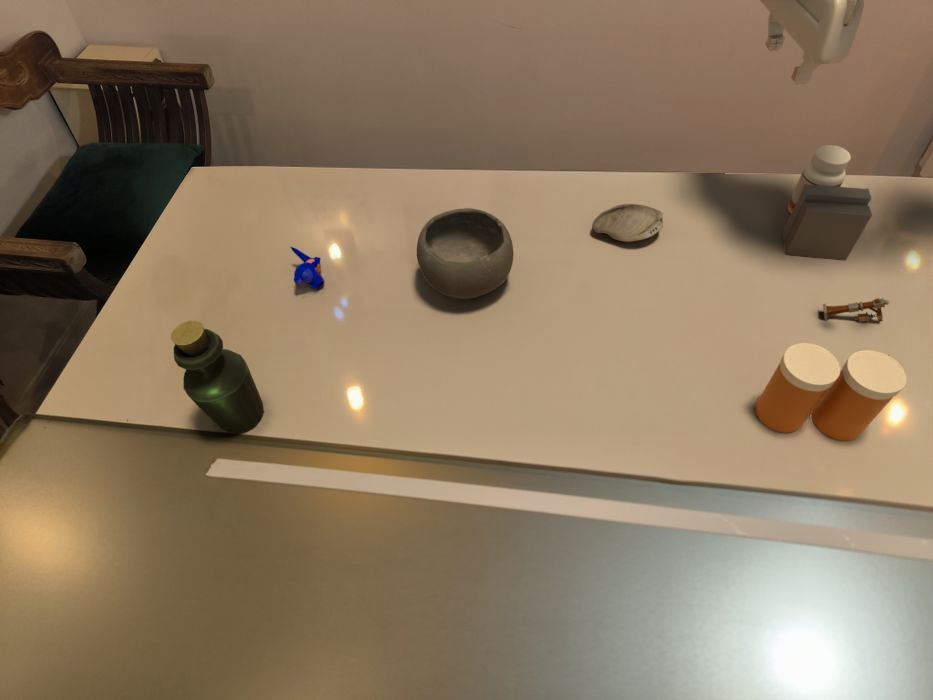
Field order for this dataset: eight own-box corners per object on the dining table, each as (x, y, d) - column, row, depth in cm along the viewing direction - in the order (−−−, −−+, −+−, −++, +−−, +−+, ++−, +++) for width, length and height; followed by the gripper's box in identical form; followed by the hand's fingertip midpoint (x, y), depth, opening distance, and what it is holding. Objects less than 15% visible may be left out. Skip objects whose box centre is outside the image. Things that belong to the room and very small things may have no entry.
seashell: (597, 253, 101) (600, 230, 97) (586, 221, 106) (589, 198, 102) (668, 246, 101) (674, 223, 97) (654, 214, 106) (660, 191, 102)
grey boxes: (782, 233, 101) (804, 184, 93) (840, 238, 99) (868, 188, 92) (785, 254, 98) (809, 205, 90) (845, 260, 96) (875, 210, 89)
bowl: (494, 239, 104) (492, 192, 96) (526, 299, 95) (528, 252, 87) (411, 262, 102) (403, 215, 94) (436, 325, 93) (429, 279, 85)
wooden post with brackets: (890, 323, 87) (890, 302, 84) (826, 331, 91) (824, 311, 88) (888, 314, 88) (888, 293, 85) (824, 322, 92) (822, 302, 89)
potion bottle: (252, 446, 82) (197, 366, 68) (200, 432, 84) (137, 352, 70) (280, 397, 87) (235, 313, 72) (231, 385, 88) (177, 301, 74)
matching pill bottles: (752, 390, 83) (781, 339, 74) (858, 404, 80) (900, 353, 72) (756, 429, 79) (786, 380, 70) (867, 444, 77) (912, 396, 68)
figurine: (299, 297, 99) (290, 276, 95) (297, 266, 103) (289, 244, 100) (328, 291, 99) (320, 270, 95) (325, 261, 104) (317, 239, 100)
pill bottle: (822, 201, 105) (850, 143, 97) (828, 224, 102) (858, 166, 93) (784, 198, 106) (809, 141, 98) (789, 221, 103) (815, 164, 94)
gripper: (894, -17, 67) (841, 101, 77) (816, -80, 79) (780, 29, 90) (837, -12, 67) (792, 106, 78) (768, -75, 79) (737, 33, 90)
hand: (785, 64), depth 84 cm, fingers open, 8 cm apart
